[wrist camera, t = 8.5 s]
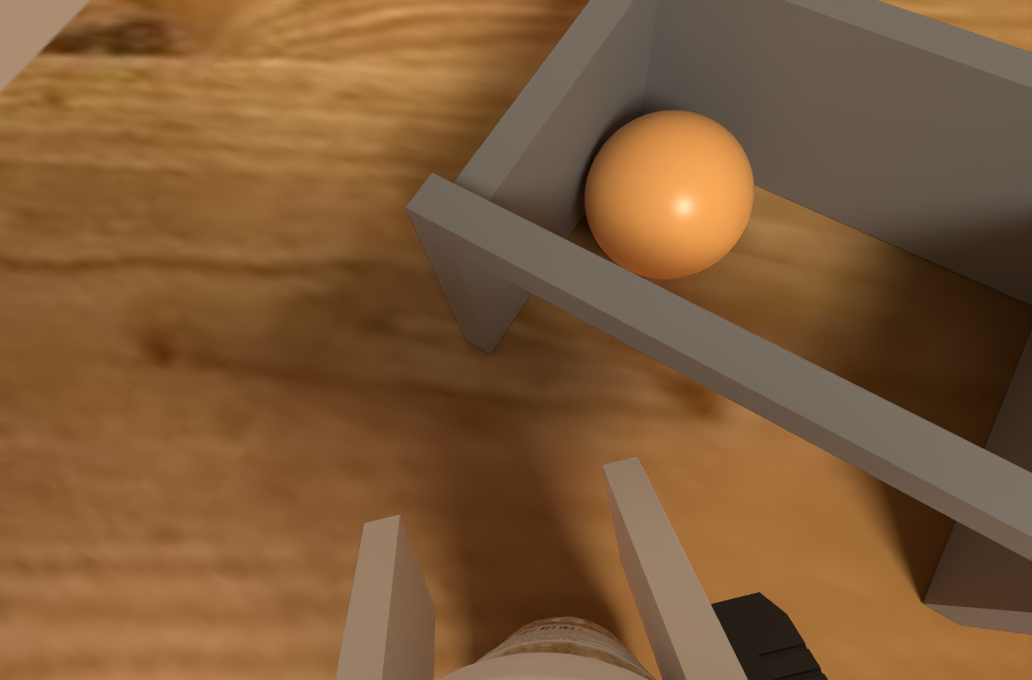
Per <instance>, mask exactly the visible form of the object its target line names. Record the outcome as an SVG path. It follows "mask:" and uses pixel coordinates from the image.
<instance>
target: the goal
mask: <svg viewBox="0 0 1032 680" xmlns="http://www.w3.org/2000/svg"><path fill="white" fill-rule="evenodd" d="M664 110H684V111H690V112H694V113H697V114H701V115H704V116H706V117H708V118H711V119H713V120H714V121H716V122H718V123H719V124H721V125H722V126H723V127H724V128H726V129H727V130H728V131H729V132H730V133H731V134H732V135H733V136H734V137H735V138H736V139H737V141H738V142H739V143H740V145H741V146H742V148H743V150H744V151H745V153H746V155H747V158H748V160H749V163H750V166H751V169H752V174H753V180H754V185H756V186H759V187H761V188H763V189H766V190H768V191H770V192H772V193H775V194H777V195H779V196H782V197H784V198H786V199H788V200H791V201H793V202H795V203H798V204H800V205H802V206H804V207H807V208H809V209H811V210H814V211H816V212H818V213H821V214H823V215H825V216H827V217H830V218H832V219H834V220H837V221H839V222H841V223H843V224H846V225H848V226H850V227H853V228H855V229H857V230H859V231H862V232H864V233H866V234H869V235H871V236H873V237H876V238H878V239H880V240H882V241H885V242H887V243H889V244H892V245H894V246H896V247H898V248H901V249H903V250H905V251H908V252H910V253H912V254H914V255H917V256H919V257H921V258H924V259H926V260H928V261H931V262H933V263H935V264H937V265H940V266H942V267H944V268H947V269H949V270H951V271H953V272H956V273H958V274H960V275H963V276H965V277H967V278H969V279H972V280H974V281H976V282H979V283H981V284H983V285H986V286H988V287H990V288H992V289H995V290H997V291H999V292H1002V293H1004V294H1006V295H1008V296H1011V297H1013V298H1015V299H1018V300H1020V301H1022V302H1024V303H1027V304H1029V305H1031V306H1032V52H1029V51H1026V50H1023V49H1020V48H1017V47H1014V46H1011V45H1008V44H1005V43H1002V42H999V41H996V40H993V39H990V38H987V37H984V36H981V35H979V34H976V33H973V32H970V31H967V30H964V29H961V28H958V27H955V26H952V25H949V24H946V23H943V22H940V21H937V20H934V19H931V18H928V17H925V16H922V15H919V14H916V13H914V12H911V11H908V10H905V9H902V8H899V7H896V6H893V5H890V4H887V3H884V2H881V1H878V0H590V1H589V2H588V3H587V5H586V6H585V7H584V9H583V10H582V11H581V13H580V14H579V15H578V17H577V18H576V19H575V21H574V22H573V23H572V25H571V26H570V27H569V29H568V30H567V31H566V33H565V34H564V35H563V37H562V38H561V39H560V41H559V42H558V43H557V45H556V46H555V47H554V49H553V50H552V51H551V53H550V54H549V55H548V57H547V58H546V59H545V61H544V62H543V63H542V65H541V66H540V67H539V69H538V70H537V71H536V73H535V74H534V75H533V77H532V78H531V79H530V81H529V82H528V83H527V85H526V86H525V88H524V89H523V90H522V92H521V93H520V94H519V96H518V97H517V98H516V100H515V101H514V102H513V104H512V105H511V106H510V108H509V109H508V110H507V112H506V113H505V114H504V116H503V117H502V118H501V120H500V121H499V122H498V124H497V125H496V126H495V128H494V129H493V130H492V132H491V133H490V134H489V136H488V137H487V138H486V140H485V141H484V142H483V144H482V145H481V146H480V148H479V149H478V150H477V152H476V153H475V154H474V156H473V157H472V158H471V160H470V161H469V162H468V164H467V165H466V166H465V168H464V169H463V170H462V172H461V173H460V174H459V176H458V177H457V178H456V180H455V181H454V182H453V183H452V182H450V181H448V180H446V179H444V178H442V177H440V176H438V175H436V174H434V173H431V175H430V176H429V177H428V179H427V180H426V181H425V183H424V184H423V185H422V186H421V188H420V189H419V190H418V192H417V193H416V194H415V196H414V197H413V198H412V199H411V201H410V202H409V203H408V205H407V206H406V207H405V208H406V210H407V212H408V214H409V217H410V219H411V221H412V223H413V225H414V228H415V230H416V232H417V234H418V236H419V239H420V241H421V243H422V245H423V248H424V250H425V252H426V254H427V256H428V259H429V261H430V263H431V265H432V267H433V270H434V272H435V274H436V276H437V278H438V281H439V283H440V285H441V287H442V289H443V292H444V294H445V296H446V298H447V300H448V303H449V305H450V307H451V309H452V312H453V314H454V316H455V318H456V320H457V323H458V325H459V327H460V329H461V331H462V334H463V336H464V338H465V340H466V341H468V342H469V343H471V344H473V345H475V346H476V347H478V348H480V349H482V350H483V351H485V352H487V353H488V354H490V355H491V354H492V352H493V351H494V349H495V348H496V346H497V345H498V343H499V342H500V340H501V339H502V337H503V336H504V334H505V333H506V331H507V330H508V328H509V327H510V325H511V324H512V322H513V321H514V319H515V317H516V316H517V314H518V313H519V311H520V310H521V308H522V307H523V305H524V304H525V302H526V301H527V299H528V298H529V296H530V295H531V293H532V294H534V295H535V296H537V297H539V298H541V299H543V300H545V301H547V302H548V303H550V304H552V305H554V306H556V307H558V308H560V309H562V310H563V311H565V312H567V313H569V314H571V315H573V316H575V317H577V318H578V319H580V320H582V321H584V322H586V323H588V324H590V325H591V326H593V327H595V328H597V329H599V330H601V331H603V332H605V333H606V334H608V335H610V336H612V337H614V338H616V339H618V340H619V341H621V342H623V343H625V344H627V345H629V346H631V347H633V348H634V349H636V350H638V351H640V352H642V353H644V354H646V355H648V356H649V357H651V358H653V359H655V360H657V361H659V362H661V363H662V364H664V365H666V366H668V367H670V368H672V369H674V370H676V371H677V372H679V373H681V374H683V375H685V376H687V377H689V378H690V379H692V380H694V381H696V382H698V383H700V384H702V385H704V386H705V387H707V388H709V389H711V390H713V391H715V392H717V393H719V394H720V395H722V396H724V397H726V398H728V399H730V400H732V401H733V402H735V403H737V404H739V405H741V406H743V407H745V408H747V409H748V410H750V411H752V412H754V413H756V414H758V415H760V416H761V417H763V418H765V419H767V420H769V421H771V422H773V423H775V424H776V425H778V426H780V427H782V428H784V429H786V430H788V431H790V432H791V433H793V434H795V435H797V436H799V437H801V438H803V439H804V440H806V441H808V442H810V443H812V444H814V445H816V446H818V447H819V448H821V449H823V450H825V451H827V452H829V453H831V454H832V455H834V456H836V457H838V458H840V459H842V460H844V461H846V462H847V463H849V464H851V465H853V466H855V467H857V468H859V469H861V470H862V471H864V472H866V473H868V474H870V475H872V476H874V477H875V478H877V479H879V480H881V481H883V482H885V483H887V484H889V485H890V486H892V487H894V488H896V489H898V490H900V491H902V492H903V493H905V494H907V495H909V496H911V497H913V498H915V499H917V500H918V501H920V502H922V503H924V504H926V505H928V506H930V507H932V508H933V509H935V510H937V511H939V512H941V513H943V514H945V515H946V516H948V517H950V518H952V519H954V520H956V521H955V524H954V526H953V529H952V531H951V534H950V536H949V539H948V541H947V544H946V546H945V549H944V551H943V554H942V556H941V559H940V561H939V564H938V566H937V569H936V571H935V574H934V576H933V579H932V582H931V584H930V587H929V589H928V592H927V594H926V597H925V599H924V602H923V604H924V605H926V606H928V607H930V608H931V609H933V610H935V611H937V612H938V613H940V614H942V615H943V616H945V617H947V618H949V619H950V620H952V621H954V622H956V623H957V624H959V625H961V626H969V627H976V628H984V629H992V630H999V631H1007V632H1015V633H1022V634H1030V635H1032V329H1031V332H1030V334H1029V337H1028V339H1027V342H1026V344H1025V347H1024V350H1023V352H1022V355H1021V357H1020V360H1019V362H1018V365H1017V367H1016V370H1015V372H1014V375H1013V377H1012V380H1011V382H1010V385H1009V387H1008V390H1007V392H1006V395H1005V397H1004V400H1003V402H1002V405H1001V408H1000V410H999V413H998V415H997V418H996V420H995V423H994V425H993V428H992V430H991V433H990V435H989V438H988V440H987V443H986V445H985V448H984V449H983V448H981V447H979V446H977V445H975V444H973V443H971V442H969V441H967V440H965V439H963V438H961V437H959V436H957V435H955V434H953V433H951V432H949V431H947V430H945V429H943V428H941V427H939V426H937V425H935V424H933V423H931V422H929V421H927V420H925V419H923V418H921V417H919V416H917V415H915V414H913V413H911V412H909V411H907V410H905V409H903V408H901V407H899V406H897V405H895V404H893V403H891V402H889V401H887V400H885V399H883V398H881V397H879V396H877V395H875V394H873V393H871V392H869V391H867V390H865V389H863V388H861V387H859V386H857V385H855V384H853V383H851V382H849V381H847V380H845V379H843V378H841V377H839V376H837V375H835V374H833V373H831V372H829V371H827V370H825V369H823V368H821V367H819V366H817V365H815V364H813V363H811V362H809V361H807V360H805V359H803V358H801V357H799V356H797V355H795V354H793V353H791V352H789V351H787V350H785V349H783V348H781V347H779V346H777V345H775V344H773V343H771V342H769V341H767V340H765V339H763V338H761V337H759V336H757V335H755V334H753V333H751V332H749V331H747V330H745V329H743V328H741V327H739V326H737V325H735V324H733V323H731V322H729V321H727V320H725V319H723V318H721V317H719V316H717V315H715V314H713V313H711V312H709V311H707V310H705V309H703V308H701V307H699V306H697V305H695V304H693V303H691V302H689V301H687V300H685V299H683V298H681V297H679V296H678V295H676V294H674V293H672V292H670V291H668V290H666V289H664V288H662V287H660V286H658V285H656V284H654V283H652V282H650V281H648V280H646V279H644V278H642V277H640V276H638V275H636V274H634V273H632V272H630V271H628V270H626V269H624V268H622V267H620V266H618V265H616V264H614V263H612V262H610V261H608V260H606V259H604V258H602V257H600V256H598V255H596V254H594V253H592V252H590V251H588V250H586V249H584V248H582V247H580V246H578V245H576V244H574V243H572V242H570V241H568V240H567V239H568V238H569V236H570V235H571V233H572V232H573V230H574V229H575V227H576V226H577V224H578V223H579V221H580V220H581V218H582V217H583V215H584V214H585V187H586V181H587V177H588V174H589V171H590V168H591V165H592V163H593V161H594V159H595V157H596V155H597V154H598V152H599V151H600V149H601V148H602V146H603V145H604V144H605V143H606V141H607V140H608V139H609V138H610V137H611V136H612V135H613V134H614V133H615V132H616V131H618V130H619V129H620V128H621V127H623V126H624V125H626V124H627V123H629V122H631V121H633V120H635V119H637V118H638V117H641V116H644V115H646V114H650V113H653V112H658V111H664Z"/></svg>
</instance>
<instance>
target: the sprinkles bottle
mask: <svg viewBox="0 0 1032 680" xmlns="http://www.w3.org/2000/svg"><path fill="white" fill-rule="evenodd" d="M437 680H655V679H654V678H653V677H652V676H651V675H650V674H649V673H648V671H647V670H646V669H645V668H644V667H643V666H642V665H641V664H640V663H639V662H638V660H637V659H636V657H635V656H634V654H633V653H632V652H631V650H630V649H629V648H628V647H627V646H626V645H625V644H623V643H622V642H621V641H620V640H619V639H618V638H617V637H616V636H615V635H614V634H613V633H611V632H610V631H608V630H607V629H605V628H603V627H601V626H600V625H598V624H596V623H594V622H591V621H588V620H585V619H581V618H576V617H571V616H563V617H549V618H545V619H542V620H536V621H533V622H531V623H529V624H526V625H524V626H523V627H521V628H520V629H519V630H518V631H516V632H515V633H513V634H511V635H510V636H509V637H508V638H507V639H506V640H504V641H503V642H502V644H500V645H499V646H498V647H496V648H494V649H493V650H491V651H490V652H488V653H487V654H486V655H484V656H483V657H482V658H480V659H479V660H478V661H476V662H475V663H474V664H471V665H468V666H465V667H463V668H461V669H458V670H456V671H454V672H452V673H450V674H447V675H445V676H443V677H441V678H439V679H437Z"/></svg>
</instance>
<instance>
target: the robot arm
mask: <svg viewBox="0 0 1032 680" xmlns="http://www.w3.org/2000/svg"><path fill="white" fill-rule="evenodd" d="M602 466H603V472H604V477H605V482H606V487H607V492H608V497H609V502H610V507H611V512H612V517H613V522H614V527H615V532H616V537H617V542H618V547H619V552H620V558H621V563H622V565H623V568H624V571H625V574H626V577H627V580H628V582H629V585H630V588H631V591H632V594H633V597H634V599H635V602H636V605H637V608H638V611H639V614H640V616H641V619H642V622H643V625H644V628H645V631H646V633H647V636H648V639H649V642H650V645H651V648H652V650H653V653H654V656H655V659H656V662H657V664H658V667H659V670H660V673H661V676H662V679H663V680H828V679H827V677H826V676H825V674H823V673H822V671H821V668H820V666H819V665H818V663H817V661H816V660H815V658H814V657H813V655H812V653H811V652H810V650H809V649H807V648H806V645H805V642H804V641H803V639H802V637H801V636H800V634H799V633H798V631H797V629H796V628H795V626H794V625H793V623H792V621H791V620H790V618H789V617H788V615H787V614H786V613H785V612H784V611H782V610H781V609H780V608H779V607H777V606H776V605H775V604H774V603H772V602H771V601H770V600H768V599H767V598H766V597H765V596H763V595H762V594H761V593H760V592H758V593H754V594H750V595H746V596H742V597H738V598H734V599H730V600H726V601H722V602H718V603H714V604H710V602H709V600H708V598H707V596H706V594H705V592H704V590H703V588H702V586H701V584H700V582H699V580H698V578H697V576H696V574H695V572H694V569H693V567H692V565H691V563H690V561H689V559H688V557H687V555H686V553H685V551H684V549H683V547H682V545H681V543H680V541H679V539H678V537H677V535H676V533H675V531H674V529H673V527H672V525H671V523H670V521H669V519H668V517H667V515H666V513H665V511H664V509H663V507H662V505H661V503H660V501H659V499H658V497H657V494H656V492H655V490H654V488H653V486H652V484H651V482H650V480H649V478H648V476H647V474H646V472H645V470H644V468H643V466H642V464H641V462H640V460H639V458H638V456H636V457H632V458H628V459H624V460H620V461H616V462H612V463H608V464H603V465H602ZM434 634H435V607H434V604H433V601H432V599H431V596H430V593H429V591H428V588H427V585H426V583H425V580H424V577H423V575H422V572H421V569H420V567H419V564H418V561H417V559H416V556H415V553H414V551H413V548H412V545H411V543H410V540H409V537H408V535H407V532H406V529H405V527H404V524H403V521H402V519H401V516H400V515H396V516H391V517H387V518H383V519H379V520H375V521H371V522H367V523H364V528H363V533H362V539H361V544H360V549H359V555H358V560H357V565H356V571H355V576H354V582H353V587H352V592H351V598H350V603H349V608H348V614H347V619H346V625H345V630H344V635H343V641H342V646H341V651H340V657H339V662H338V668H337V673H336V678H335V680H433V675H434Z"/></svg>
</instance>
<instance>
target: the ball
mask: <svg viewBox="0 0 1032 680" xmlns="http://www.w3.org/2000/svg"><path fill="white" fill-rule="evenodd" d="M753 201H754V180H753V174H752V169H751V166H750V163H749V160H748V158H747V155H746V153H745V151H744V150H743V148H742V146H741V145H740V143H739V142H738V141H737V139H736V138H735V137H734V136H733V135H732V134H731V133H730V132H729V131H728V130H727V129H726V128H724V127H723V126H722V125H721V124H719V123H718V122H716V121H714V120H713V119H711V118H708V117H706V116H704V115H701V114H697V113H694V112H690V111H684V110H664V111H658V112H653V113H650V114H646V115H644V116H641V117H638V118H637V119H635V120H633V121H631V122H629V123H627V124H626V125H624V126H623V127H621V128H620V129H619V130H618V131H616V132H615V133H614V134H613V135H612V136H611V137H610V138H609V139H608V140H607V141H606V143H605V144H604V145H603V146H602V148H601V149H600V151H599V152H598V154H597V155H596V157H595V159H594V161H593V163H592V165H591V168H590V171H589V174H588V177H587V181H586V187H585V212H586V217H587V221H588V224H589V227H590V230H591V232H592V234H593V236H594V238H595V240H596V242H597V243H598V245H599V246H600V247H601V249H602V250H603V251H604V252H605V253H606V254H607V255H608V256H609V257H610V258H611V260H613V261H614V262H615V263H617V264H618V265H620V266H621V267H623V268H624V269H626V270H628V271H630V272H632V273H635V274H638V275H641V276H644V277H648V278H654V279H676V278H682V277H686V276H690V275H693V274H695V273H698V272H700V271H703V270H705V269H707V268H708V267H710V266H712V265H713V264H715V263H716V262H717V261H719V260H720V259H721V258H723V257H724V256H725V255H726V254H727V253H728V252H729V251H730V250H731V249H732V247H733V246H734V245H735V244H736V243H737V241H738V240H739V238H740V237H741V235H742V233H743V232H744V230H745V228H746V225H747V223H748V221H749V218H750V215H751V211H752V207H753Z"/></svg>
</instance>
